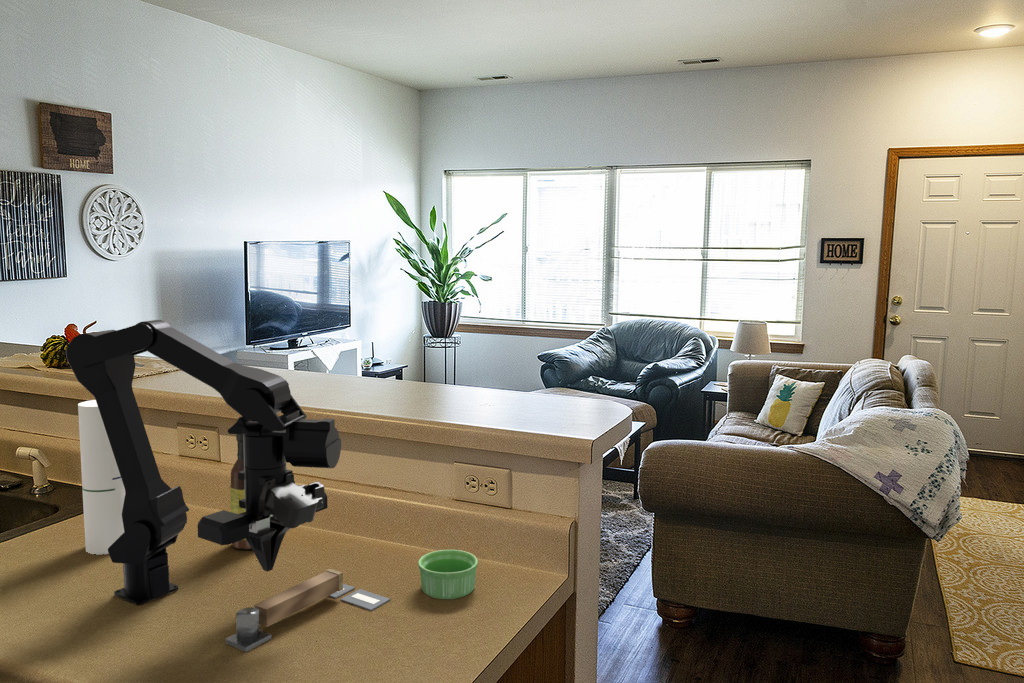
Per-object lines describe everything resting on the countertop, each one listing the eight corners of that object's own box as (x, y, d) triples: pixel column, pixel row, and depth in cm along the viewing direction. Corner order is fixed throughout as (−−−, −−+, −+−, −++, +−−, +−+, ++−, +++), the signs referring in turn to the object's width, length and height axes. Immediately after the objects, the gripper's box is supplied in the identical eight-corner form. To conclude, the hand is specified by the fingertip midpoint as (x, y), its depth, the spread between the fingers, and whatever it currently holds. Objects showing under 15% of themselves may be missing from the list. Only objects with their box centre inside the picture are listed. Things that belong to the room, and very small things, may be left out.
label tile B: (340, 600, 109) (340, 598, 109) (359, 590, 113) (359, 588, 113) (371, 610, 106) (371, 609, 106) (390, 600, 109) (390, 598, 109)
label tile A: (306, 588, 113) (306, 586, 113) (326, 579, 116) (326, 577, 116) (335, 598, 110) (335, 596, 110) (355, 588, 113) (355, 586, 113)
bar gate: (267, 627, 98) (266, 608, 98) (254, 622, 100) (253, 603, 99) (342, 589, 110) (342, 572, 109) (330, 585, 111) (329, 568, 111)
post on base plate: (225, 643, 97) (224, 614, 96) (251, 630, 100) (250, 602, 100) (245, 652, 95) (244, 622, 94) (271, 638, 98) (270, 610, 98)
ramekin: (444, 571, 120) (444, 544, 120) (489, 585, 115) (489, 558, 114) (405, 591, 113) (405, 563, 112) (451, 607, 108) (451, 578, 107)
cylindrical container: (141, 544, 129) (135, 401, 127) (100, 557, 123) (92, 408, 121) (118, 535, 133) (111, 397, 131) (77, 548, 127) (69, 403, 125)
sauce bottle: (257, 552, 126) (253, 437, 124) (223, 549, 128) (219, 435, 125) (276, 538, 133) (274, 428, 131) (244, 535, 134) (241, 426, 132)
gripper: (248, 491, 94) (251, 609, 96) (353, 458, 110) (354, 561, 112) (193, 476, 100) (197, 588, 102) (300, 447, 116) (302, 545, 117)
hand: (267, 570), depth 108 cm, fingers closed
